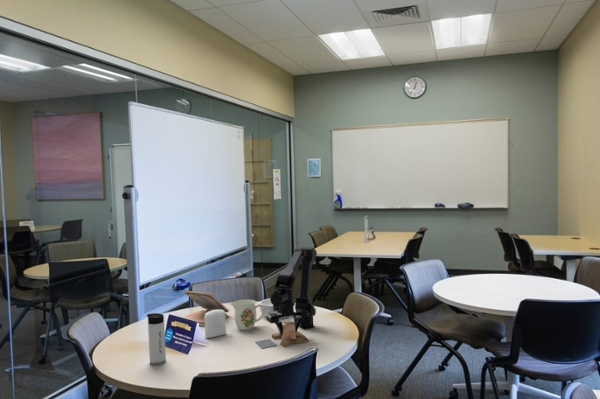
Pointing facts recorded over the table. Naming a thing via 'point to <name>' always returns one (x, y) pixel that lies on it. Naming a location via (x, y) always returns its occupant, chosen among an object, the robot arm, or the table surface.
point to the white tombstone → (215, 323)
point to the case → (204, 306)
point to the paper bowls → (267, 307)
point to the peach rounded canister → (288, 330)
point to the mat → (265, 343)
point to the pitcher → (246, 313)
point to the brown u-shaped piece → (299, 339)
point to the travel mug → (156, 338)
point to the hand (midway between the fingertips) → (288, 334)
